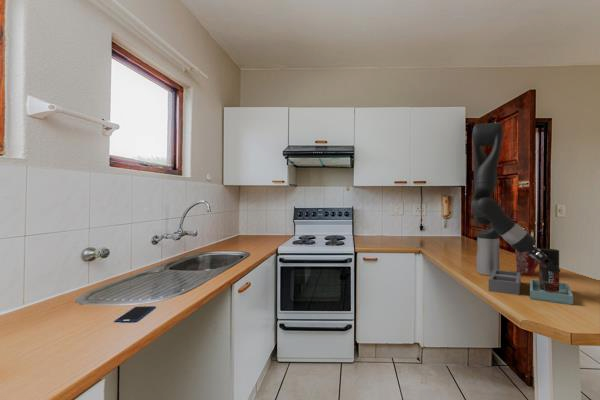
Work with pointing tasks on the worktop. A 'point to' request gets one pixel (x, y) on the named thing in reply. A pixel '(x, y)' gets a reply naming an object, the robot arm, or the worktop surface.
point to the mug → (525, 263)
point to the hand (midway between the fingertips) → (554, 270)
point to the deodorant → (549, 272)
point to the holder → (505, 282)
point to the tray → (551, 293)
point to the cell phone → (135, 314)
